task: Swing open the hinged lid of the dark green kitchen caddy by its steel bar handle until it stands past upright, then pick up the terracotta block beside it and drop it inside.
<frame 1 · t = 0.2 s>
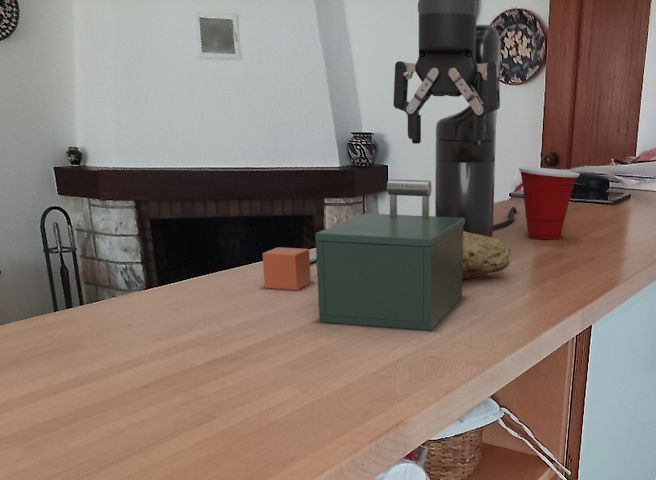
hand: (446, 144, 107), 17 cm above the counter, tool pointing down, fingers open, 8 cm apart
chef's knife: (310, 261, 117), on the counter
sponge: (434, 277, 109), on the counter
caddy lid: (395, 208, 87), point 11 cm above the counter, hinge at 0.0°
plastic cup: (545, 238, 142), on the counter
caddy: (395, 309, 91), on the counter
block: (288, 285, 102), on the counter
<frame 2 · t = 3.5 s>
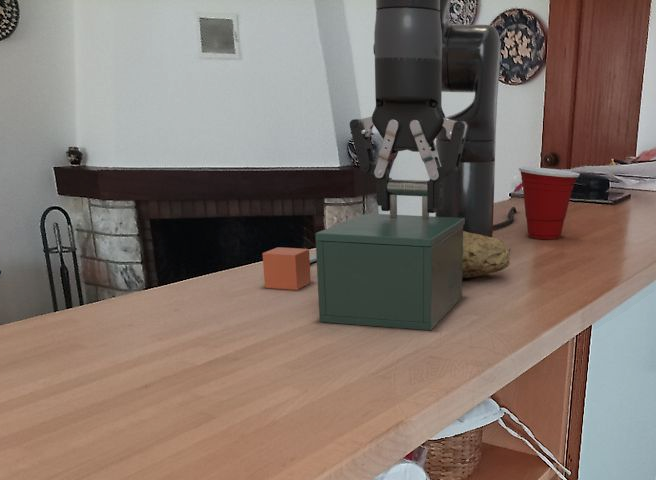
hand: (409, 210, 93), 11 cm above the counter, tool pointing down, fingers closed on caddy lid, 5 cm apart
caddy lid: (395, 208, 87), point 11 cm above the counter, hinge at 0.0°, touching gripper
everything else where it was.
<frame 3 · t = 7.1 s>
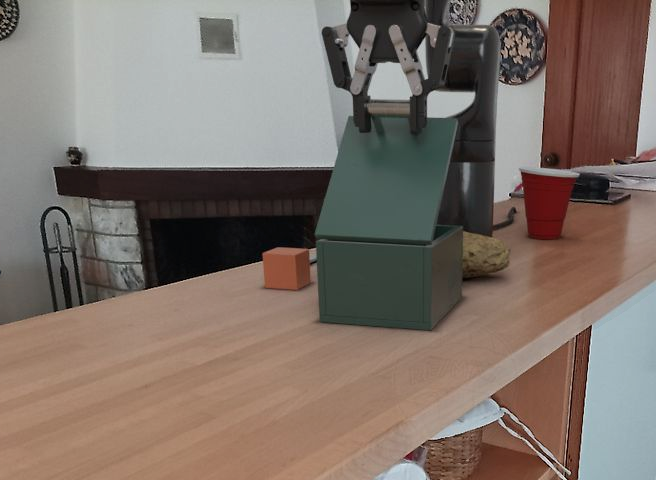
hand: (390, 132, 83), 20 cm above the counter, tool pointing down, fingers closed on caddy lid, 5 cm apart
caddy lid: (383, 163, 82), point 17 cm above the counter, hinge at 45.0°, touching gripper
everything else where it was.
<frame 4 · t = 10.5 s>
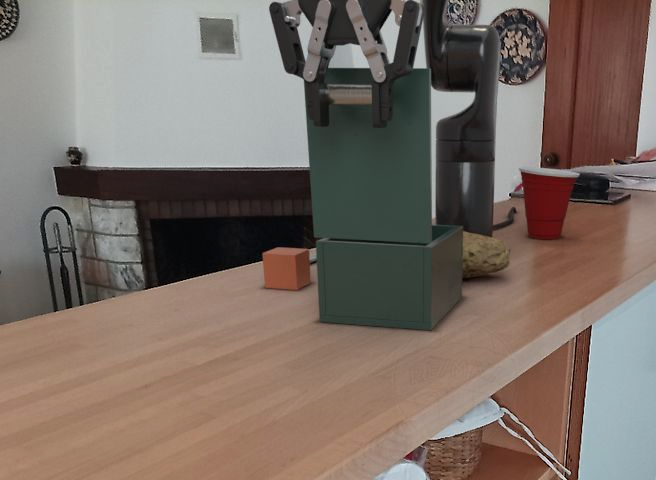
hand: (350, 126, 72), 21 cm above the counter, tool pointing down, fingers closed on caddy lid, 5 cm apart
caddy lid: (362, 159, 76), point 17 cm above the counter, hinge at 92.3°, touching gripper
everything else where it was.
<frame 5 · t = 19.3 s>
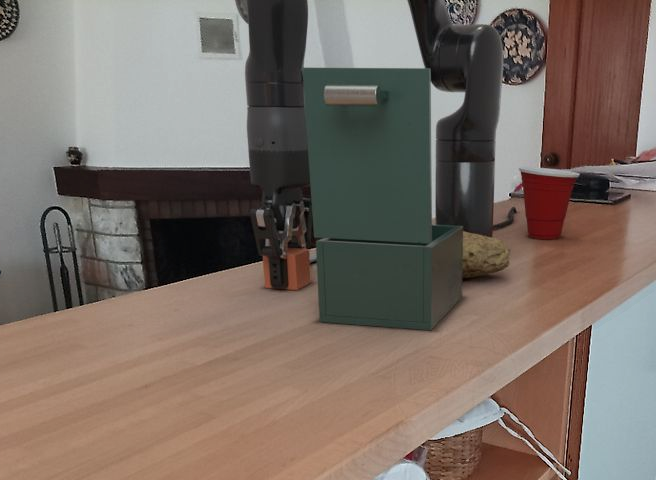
hand: (288, 282, 102), 0 cm above the counter, tool pointing down, fingers closed on block, 4 cm apart
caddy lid: (361, 160, 75), point 17 cm above the counter, hinge at 92.8°
block: (288, 285, 102), on the counter, touching gripper
everything else where it was.
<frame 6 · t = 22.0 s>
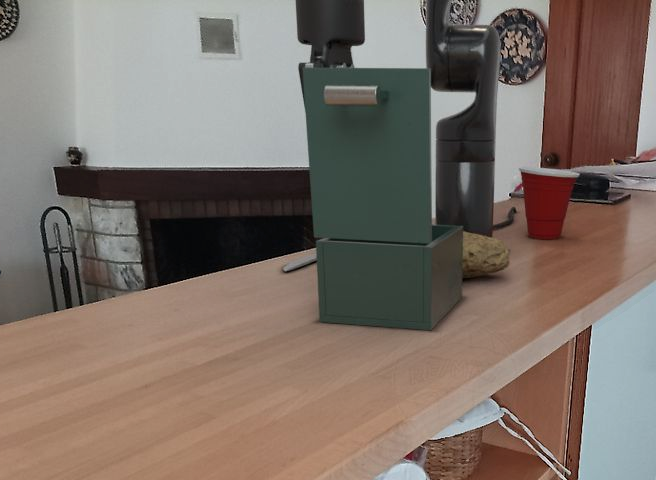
hand: (336, 158, 92), 16 cm above the counter, tool pointing down, fingers closed on block, 4 cm apart
block: (335, 161, 92), point 16 cm above the counter, touching gripper
everything else where it was.
when the fingers open (11 cm above the counter, at t = 24.7 s): block drops 10 cm, resting on caddy.
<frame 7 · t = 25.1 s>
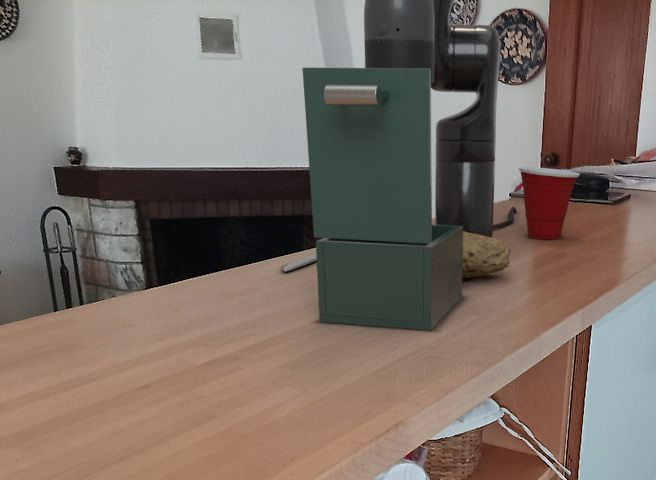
hand: (401, 193, 89), 13 cm above the counter, tool pointing down, fingers open, 8 cm apart
block: (402, 296, 94), point 1 cm above the counter, touching caddy
everything else where it was.
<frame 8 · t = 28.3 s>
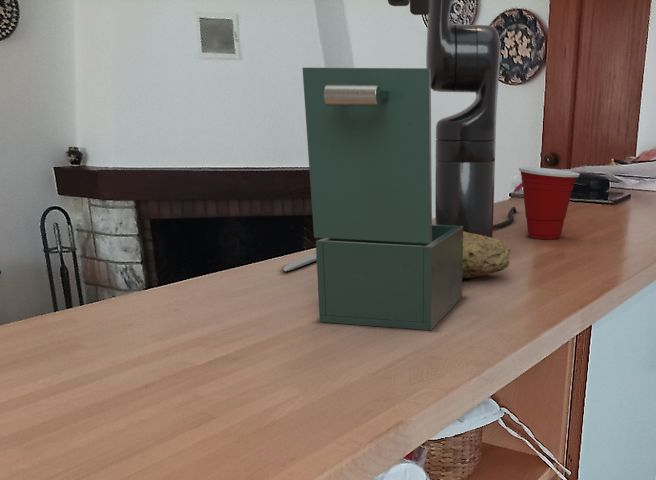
hand: (409, 10, 86), 32 cm above the counter, tool pointing down, fingers open, 8 cm apart
nothing on the counter moved.
at the end: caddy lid at +93° (first picture: +0°); block inside the target area in the caddy (2.9 cm from its centre), point 0.8 cm above the caddy's base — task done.
